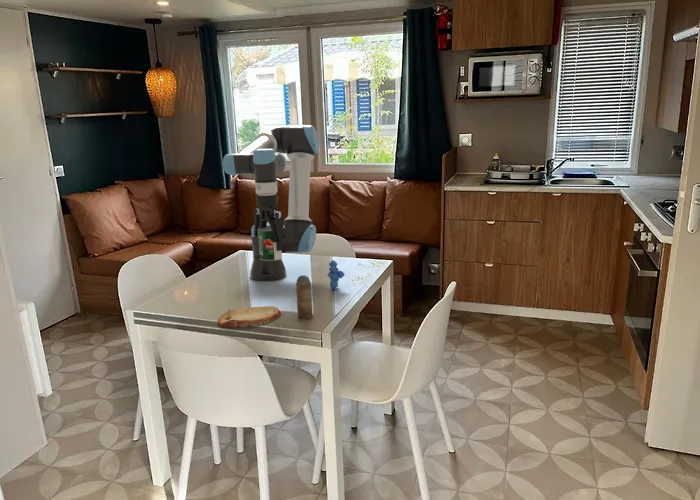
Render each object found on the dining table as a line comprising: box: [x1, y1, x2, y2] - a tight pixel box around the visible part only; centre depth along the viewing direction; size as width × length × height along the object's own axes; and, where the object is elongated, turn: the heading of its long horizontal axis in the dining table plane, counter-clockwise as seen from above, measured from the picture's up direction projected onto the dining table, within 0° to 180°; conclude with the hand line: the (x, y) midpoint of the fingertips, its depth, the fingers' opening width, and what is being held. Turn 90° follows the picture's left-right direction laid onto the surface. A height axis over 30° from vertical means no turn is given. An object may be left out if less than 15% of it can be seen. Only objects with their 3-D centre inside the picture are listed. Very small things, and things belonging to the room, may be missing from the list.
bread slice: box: [217, 305, 282, 329], centre depth 189 cm, size 18×18×4 cm
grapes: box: [327, 260, 345, 291], centre depth 217 cm, size 12×7×12 cm, turn 1°
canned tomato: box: [258, 226, 278, 261], centre depth 199 cm, size 8×8×11 cm
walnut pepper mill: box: [295, 274, 314, 320], centre depth 188 cm, size 5×5×15 cm
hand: (270, 257), depth 200 cm, fingers closed on canned tomato, 8 cm apart
